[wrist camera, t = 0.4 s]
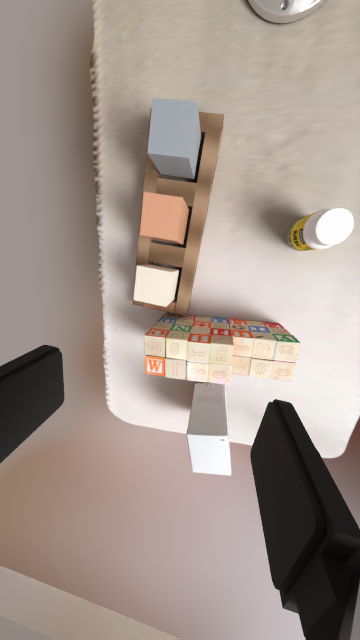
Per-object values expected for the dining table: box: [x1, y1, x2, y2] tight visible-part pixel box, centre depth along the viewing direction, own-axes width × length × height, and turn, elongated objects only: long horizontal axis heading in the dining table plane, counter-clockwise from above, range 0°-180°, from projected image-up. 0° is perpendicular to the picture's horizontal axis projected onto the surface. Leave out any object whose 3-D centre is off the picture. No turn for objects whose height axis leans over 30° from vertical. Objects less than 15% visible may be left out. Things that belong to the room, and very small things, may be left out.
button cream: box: [134, 265, 179, 307], centre depth 30 cm, size 5×5×6 cm
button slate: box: [148, 98, 201, 179], centre depth 25 cm, size 5×5×6 cm
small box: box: [187, 383, 231, 476], centre depth 36 cm, size 8×6×13 cm
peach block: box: [140, 192, 189, 244], centre depth 27 cm, size 5×5×6 cm
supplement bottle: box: [288, 208, 354, 251], centre depth 26 cm, size 5×5×8 cm
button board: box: [133, 108, 224, 316], centre depth 31 cm, size 28×10×3 cm, turn 170°
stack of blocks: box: [144, 313, 301, 385], centre depth 32 cm, size 21×6×12 cm, turn 88°
